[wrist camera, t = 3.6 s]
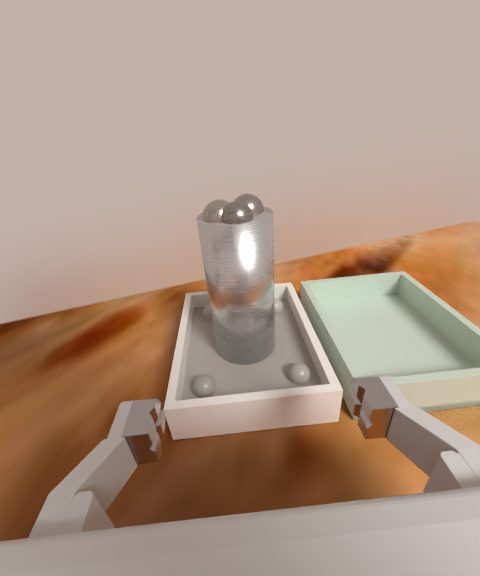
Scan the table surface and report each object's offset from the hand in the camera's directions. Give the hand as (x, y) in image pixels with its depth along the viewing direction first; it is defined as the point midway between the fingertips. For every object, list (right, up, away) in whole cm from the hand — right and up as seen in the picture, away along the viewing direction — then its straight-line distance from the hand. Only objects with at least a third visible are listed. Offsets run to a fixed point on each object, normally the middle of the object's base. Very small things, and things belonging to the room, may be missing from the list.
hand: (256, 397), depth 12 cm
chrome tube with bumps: (0, 0, +12) cm, 12 cm away
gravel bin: (0, -1, +13) cm, 13 cm away
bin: (+12, 0, +13) cm, 18 cm away
